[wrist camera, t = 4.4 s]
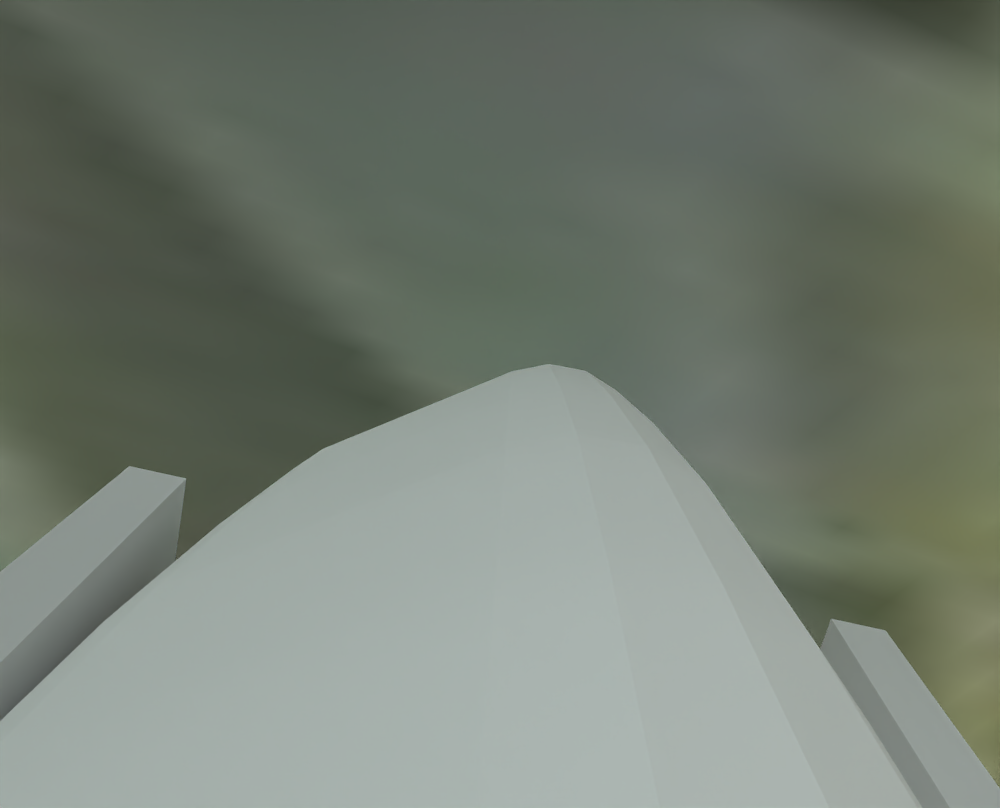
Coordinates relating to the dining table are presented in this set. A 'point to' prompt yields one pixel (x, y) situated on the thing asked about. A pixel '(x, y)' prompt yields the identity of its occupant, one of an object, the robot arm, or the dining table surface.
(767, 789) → the cup
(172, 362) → the dining table surface
